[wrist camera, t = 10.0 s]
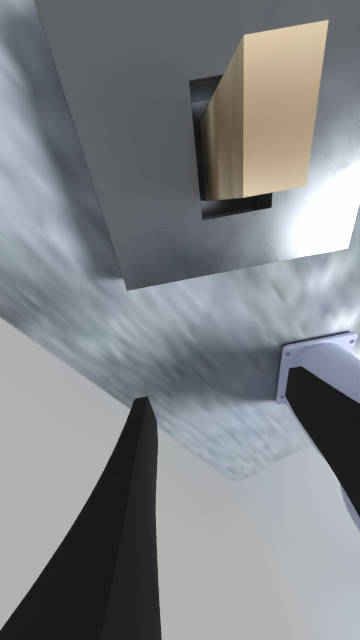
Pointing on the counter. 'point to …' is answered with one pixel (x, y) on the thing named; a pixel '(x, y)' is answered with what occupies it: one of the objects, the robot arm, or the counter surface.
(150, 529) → the robot arm
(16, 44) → the counter surface
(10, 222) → the counter surface
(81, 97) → the gray slab with hole
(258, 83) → the tan wooden beam
